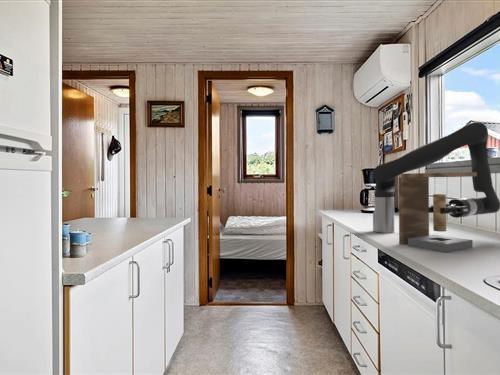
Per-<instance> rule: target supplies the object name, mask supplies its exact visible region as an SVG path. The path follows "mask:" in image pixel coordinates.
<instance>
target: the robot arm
mask: <svg viewBox="0 0 500 375" xmlns="http://www.w3.org/2000/svg"><path fill="white" fill-rule="evenodd" d="M488 138H489V131H488V127H487V125H486V124H485V123H483V122H479V121H475V122H470V123H468V124H467V125H464V126H463V127H460V128H459V129H457V130H455V131H454V132H452V133H450V134H448V135H445V136H443V137H440V138H437V139H435V140H432V141H431V142H428V143H425V144H424V145H422V146H419V147H418V148H416V149H413V150H412V151H410V152H408V153H406V154H404V155H402V156H401V157H398V158H396V159H393V160H391V161H388V162H385V163H380V164H378V165H377V166H375V167H374V169H373V170H372V177H373V179H374V181H375V189H374V192H373V193H374V194H373V195H374V198H373V199H374V200H373V201H374V211H373V212H372V231H373V232H375V233H383V234H391V233H395V191H396V178H397V177H399V176H401V174H406V173H408V172H410V171H411V172H412V171H414V170H419V169H421V168H425V167H427V166H429V165H433V164H435V163H437V162H439V161H441V160H442V159H444V158H446V156H448V155H450V154H451V153H453V152H454V151H455V150H457V149H460V148H462V147H466V146H467V147H468V150H469V155H470V162H471V172H477V176H472V177H471V179H472V187H473V190H474V192H476V193H484V195H485V196H483V197H478V198H476V197H468V198H467V197H466V198H465V197H463V198H461V197H460V198H452V199H450V200H449V201H448V202H447V203H446V207H445V208H440V213H441V214H445V213H446V215H449V216H450V217H453V218H457V219H458V218H465V217H470V216H477V215H486V214H495V213H498V211H499V210H500V199H499V196H498V195H497V193H496V191H495V189H494V187H493V186H494V185H493V180H492V173H491V167H490V163H489V158H488V151H487V150H488ZM428 212H429V214H433V205H430V206H429V208H428Z"/></svg>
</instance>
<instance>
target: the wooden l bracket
mask: <svg viewBox="0 0 500 375" xmlns="http://www.w3.org/2000/svg"><path fill="white" fill-rule="evenodd" d="M472 176H477V172H472V171H470V172H426V173H425V172H423V173H420V172H419V173H402V174H400V177H399V176H398V239H399V240H398V244H399V245H408V238H414V237H421V236H428V235H430V213H429V212H428V208H429V207H430V195H429V194H430V189H429V188H430V181H429V180H430V178H462V177H463V178H466V177H467V178H469V177H471V178H472Z"/></svg>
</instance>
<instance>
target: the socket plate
mask: <svg viewBox="0 0 500 375" xmlns="http://www.w3.org/2000/svg"><path fill="white" fill-rule="evenodd" d="M473 241H474V240H473V239H469V238H462V237H452V236H448V235H447V236H445V235H439V234H429V235H428V236H421V237H414V238H408V244H407V246H408V247H412V248H417V249H422V248H423V249H424V250H428V251H433V252H440V253H452V252H457V251H458V250H459V251H463V250H468V249H473V243H474V242H473Z"/></svg>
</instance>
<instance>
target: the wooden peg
mask: <svg viewBox="0 0 500 375" xmlns="http://www.w3.org/2000/svg"><path fill="white" fill-rule="evenodd" d="M432 204H433V213H432V215H433V217H432V221H433V232H438V233H439V232H441V233H442V232H447V214H446V213H445V214H441V213H440V208H445V207H446V204H447V194H446V193H435V194H433V195H432Z"/></svg>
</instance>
